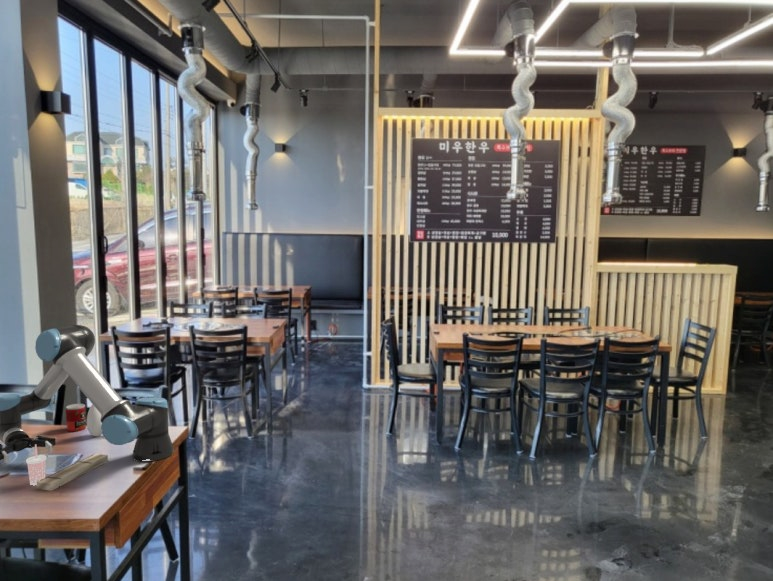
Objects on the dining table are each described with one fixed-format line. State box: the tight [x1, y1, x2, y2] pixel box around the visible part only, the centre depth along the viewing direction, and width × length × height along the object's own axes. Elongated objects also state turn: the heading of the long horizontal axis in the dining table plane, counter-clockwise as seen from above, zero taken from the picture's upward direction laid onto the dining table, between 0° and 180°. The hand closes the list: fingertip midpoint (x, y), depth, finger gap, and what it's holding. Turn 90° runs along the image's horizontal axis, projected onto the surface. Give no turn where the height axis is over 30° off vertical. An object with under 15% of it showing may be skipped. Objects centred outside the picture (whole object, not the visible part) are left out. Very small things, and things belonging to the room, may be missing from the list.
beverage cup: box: [25, 444, 47, 487], centre depth 186 cm, size 6×6×14 cm
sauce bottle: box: [86, 403, 102, 437], centre depth 234 cm, size 8×8×18 cm
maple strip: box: [36, 453, 109, 492], centre depth 194 cm, size 6×26×3 cm, turn 166°
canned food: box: [65, 403, 87, 433], centre depth 242 cm, size 8×8×11 cm
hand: (29, 454), depth 192 cm, fingers open, 13 cm apart
